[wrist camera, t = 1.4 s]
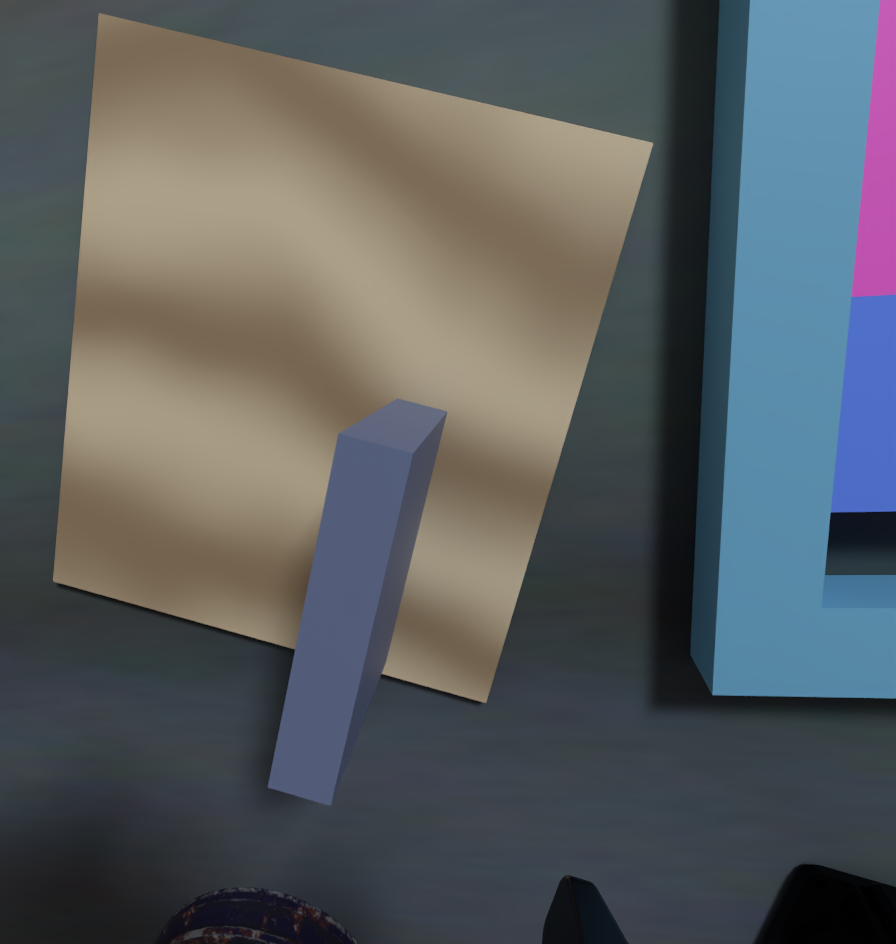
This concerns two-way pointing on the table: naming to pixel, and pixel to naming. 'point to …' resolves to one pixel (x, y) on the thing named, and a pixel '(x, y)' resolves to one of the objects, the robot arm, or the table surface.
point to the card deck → (354, 592)
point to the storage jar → (252, 920)
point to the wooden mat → (322, 332)
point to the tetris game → (798, 350)
